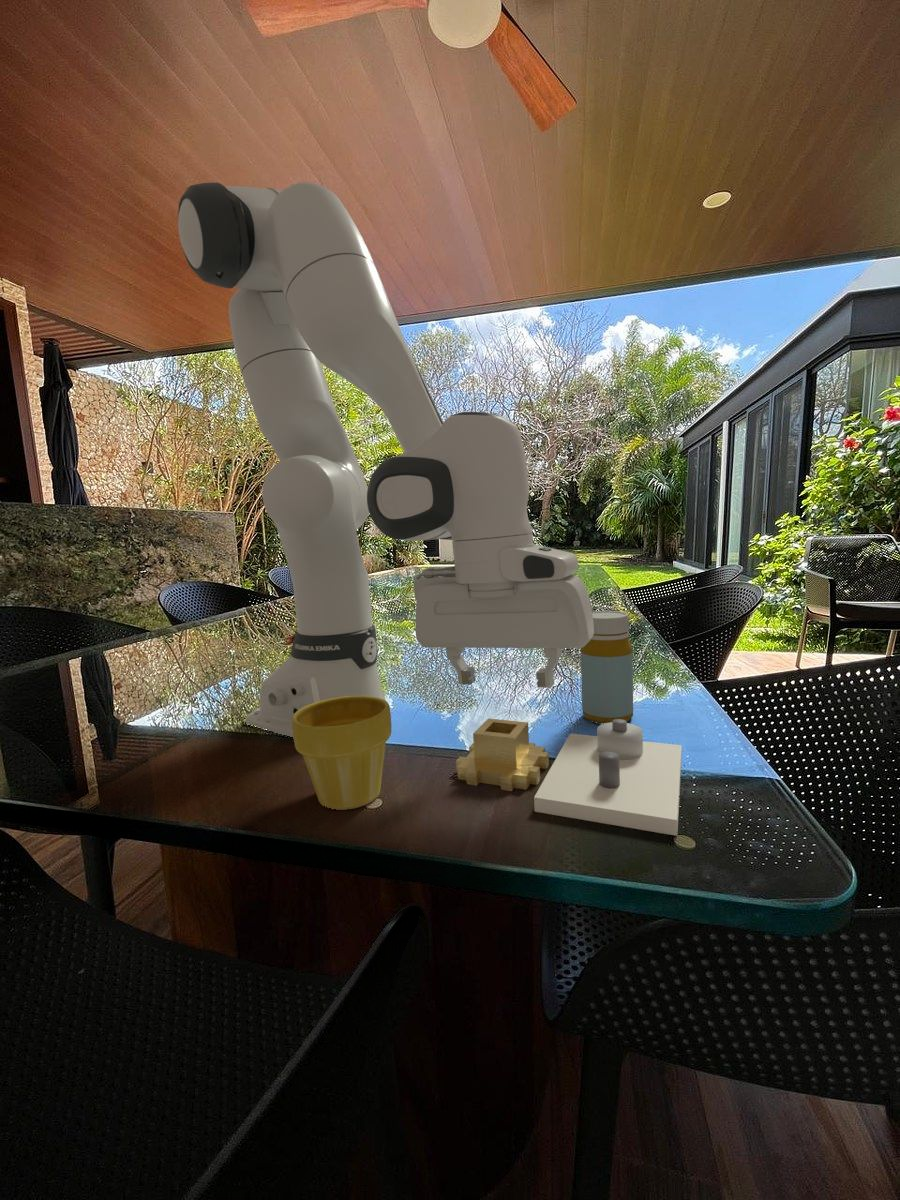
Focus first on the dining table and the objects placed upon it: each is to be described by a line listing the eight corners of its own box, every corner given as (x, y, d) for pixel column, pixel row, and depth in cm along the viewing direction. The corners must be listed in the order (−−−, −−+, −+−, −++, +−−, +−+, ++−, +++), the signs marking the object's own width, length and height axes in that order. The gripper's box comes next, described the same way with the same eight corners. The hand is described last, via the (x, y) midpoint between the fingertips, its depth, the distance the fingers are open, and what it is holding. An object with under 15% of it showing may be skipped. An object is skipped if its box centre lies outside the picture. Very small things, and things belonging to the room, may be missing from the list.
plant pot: (302, 781, 62) (294, 700, 61) (390, 768, 65) (384, 689, 63) (297, 828, 52) (287, 733, 51) (402, 810, 55) (395, 718, 53)
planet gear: (448, 781, 60) (446, 739, 60) (479, 747, 69) (477, 710, 68) (531, 794, 56) (529, 749, 56) (553, 757, 65) (552, 717, 64)
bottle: (636, 727, 73) (635, 618, 71) (583, 726, 74) (580, 619, 72) (629, 709, 80) (628, 609, 78) (581, 708, 81) (578, 611, 79)
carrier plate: (534, 811, 53) (532, 763, 52) (570, 744, 68) (569, 706, 68) (677, 835, 48) (677, 782, 47) (681, 757, 63) (681, 716, 62)
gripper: (398, 572, 61) (412, 689, 63) (580, 560, 52) (589, 697, 54) (424, 566, 66) (436, 674, 68) (592, 554, 58) (600, 679, 59)
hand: (505, 684), depth 61 cm, fingers open, 8 cm apart
